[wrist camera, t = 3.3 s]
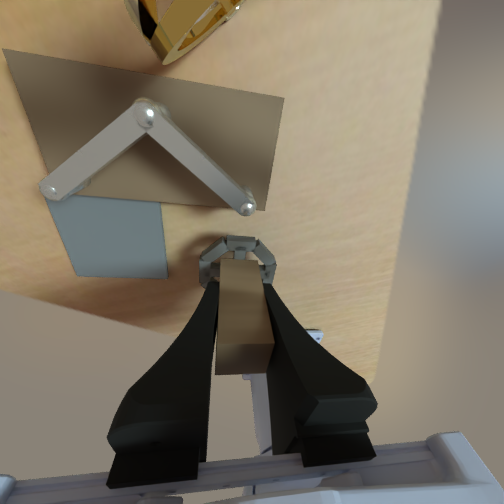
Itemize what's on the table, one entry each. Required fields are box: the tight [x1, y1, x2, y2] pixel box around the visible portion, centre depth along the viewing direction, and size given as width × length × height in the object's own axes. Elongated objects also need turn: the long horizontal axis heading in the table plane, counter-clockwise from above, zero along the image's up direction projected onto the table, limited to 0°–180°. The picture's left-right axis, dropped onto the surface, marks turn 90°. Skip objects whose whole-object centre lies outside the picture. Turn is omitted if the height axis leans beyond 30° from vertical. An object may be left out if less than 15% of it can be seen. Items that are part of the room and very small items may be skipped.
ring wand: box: [199, 235, 277, 375], centre depth 12 cm, size 5×5×7 cm
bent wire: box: [38, 97, 256, 216], centre depth 11 cm, size 5×10×4 cm, turn 83°
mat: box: [44, 194, 168, 279], centre depth 15 cm, size 6×6×1 cm
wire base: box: [2, 48, 284, 211], centre depth 12 cm, size 6×12×1 cm, turn 83°
